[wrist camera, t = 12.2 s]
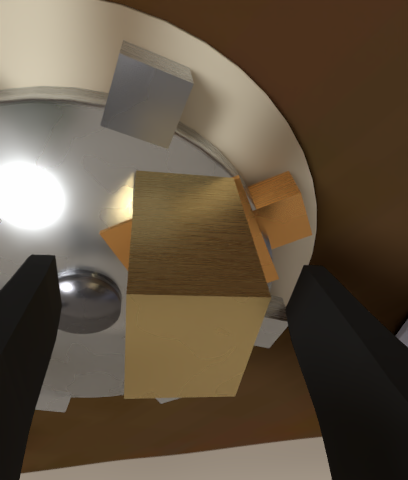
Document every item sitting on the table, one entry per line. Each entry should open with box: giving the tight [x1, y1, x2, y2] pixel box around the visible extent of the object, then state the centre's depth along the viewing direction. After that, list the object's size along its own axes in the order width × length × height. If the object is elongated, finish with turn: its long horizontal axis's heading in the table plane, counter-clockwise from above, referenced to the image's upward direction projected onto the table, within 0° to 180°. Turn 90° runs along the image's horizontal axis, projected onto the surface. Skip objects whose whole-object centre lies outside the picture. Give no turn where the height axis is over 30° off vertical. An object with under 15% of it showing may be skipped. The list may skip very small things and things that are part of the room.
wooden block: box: [124, 170, 271, 399], centre depth 11 cm, size 4×3×5 cm
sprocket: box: [0, 40, 312, 412], centre depth 14 cm, size 18×18×6 cm
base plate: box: [0, 0, 317, 307], centre depth 16 cm, size 20×20×1 cm
